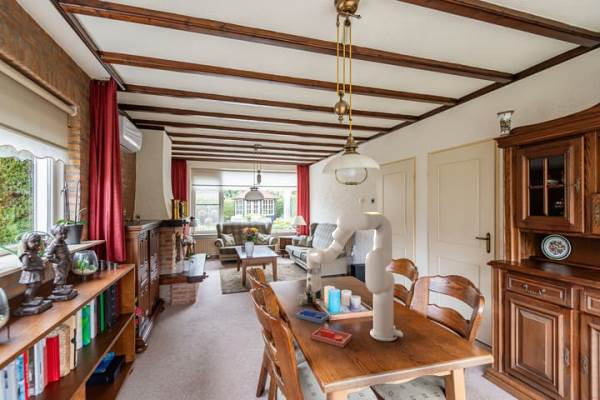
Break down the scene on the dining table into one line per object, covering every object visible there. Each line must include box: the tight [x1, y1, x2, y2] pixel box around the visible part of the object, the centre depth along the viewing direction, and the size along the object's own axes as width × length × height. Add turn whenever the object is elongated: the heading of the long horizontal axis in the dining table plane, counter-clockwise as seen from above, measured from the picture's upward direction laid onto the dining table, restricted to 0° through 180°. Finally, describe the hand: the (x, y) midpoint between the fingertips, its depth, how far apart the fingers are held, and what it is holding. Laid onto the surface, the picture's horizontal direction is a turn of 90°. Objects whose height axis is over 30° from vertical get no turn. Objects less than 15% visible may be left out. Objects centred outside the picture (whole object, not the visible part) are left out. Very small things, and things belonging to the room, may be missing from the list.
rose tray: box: [310, 326, 353, 348], centre depth 133 cm, size 16×10×2 cm, turn 58°
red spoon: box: [321, 329, 342, 342], centre depth 133 cm, size 11×4×3 cm, turn 58°
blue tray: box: [295, 308, 331, 324], centre depth 159 cm, size 16×10×2 cm, turn 58°
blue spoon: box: [303, 309, 321, 319], centre depth 159 cm, size 11×4×3 cm, turn 58°
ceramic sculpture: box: [296, 291, 318, 306], centre depth 180 cm, size 11×9×15 cm
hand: (314, 301), depth 160 cm, fingers open, 9 cm apart
